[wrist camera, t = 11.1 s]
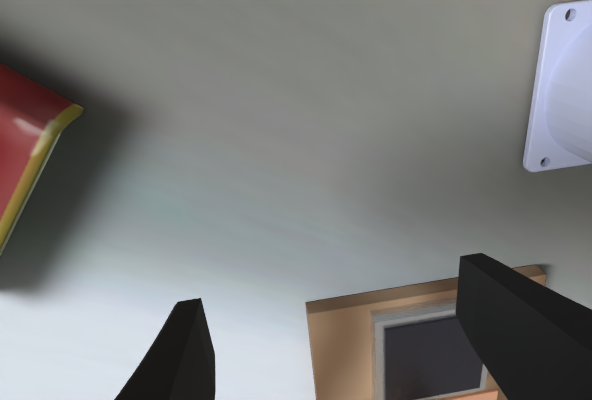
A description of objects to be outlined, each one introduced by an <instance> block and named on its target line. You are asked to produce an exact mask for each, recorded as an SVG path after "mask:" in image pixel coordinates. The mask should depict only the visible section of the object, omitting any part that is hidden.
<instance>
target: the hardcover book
mask: <svg viewBox="0 0 592 400" xmlns="http://www.w3.org/2000/svg"><path fill="white" fill-rule="evenodd" d="M83 111H84V108H83V107H81V106H79V105H77V104H75V103H73V102H72V101H70V100H68V99H66V98H64V97H62V96H60V95H59V94H57V93H55V92H53V91H51V90H49V89H48V88H46V87H44V86H42V85H40V84H38V83H36V82H35V81H33V80H31V79H29V78H27V77H25V76H24V75H22V74H20V73H18V72H16V71H14V70H12V69H11V68H9V67H7V66H5V65H3V64H1V63H0V256H1V254H2V252H3V250H4V248H5V246H6V244H7V242H8V240H9V238H10V236H11V234H12V232H13V230H14V228H15V226H16V224H17V222H18V220H19V218H20V216H21V214H22V212H23V210H24V208H25V205H26V203H27V201H28V199H29V197H30V195H31V193H32V191H33V189H34V187H35V185H36V183H37V181H38V179H39V177H40V175H41V173H42V171H43V169H44V167H45V165H46V163H47V161H48V159H49V157H50V155H51V153H52V151H53V149H54V147H55V144H56V142H57V140H58V138H59V136H60V134H61V132H62V131H63V129H64V128H66V127H67V126H68V125H69V124H70V123H71V122H72V121H73V120H75V119H76V118H78V117H80V116H81V115H82V113H83Z"/></svg>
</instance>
